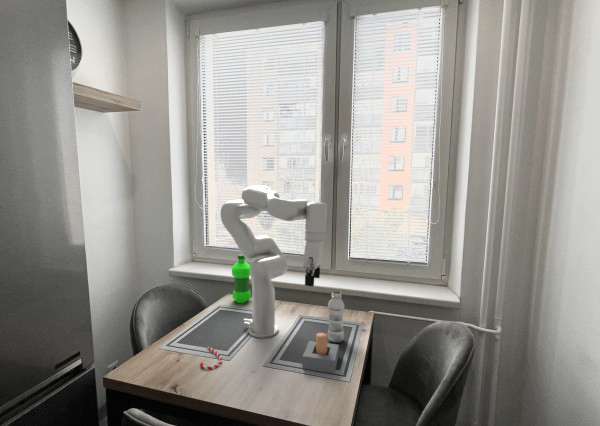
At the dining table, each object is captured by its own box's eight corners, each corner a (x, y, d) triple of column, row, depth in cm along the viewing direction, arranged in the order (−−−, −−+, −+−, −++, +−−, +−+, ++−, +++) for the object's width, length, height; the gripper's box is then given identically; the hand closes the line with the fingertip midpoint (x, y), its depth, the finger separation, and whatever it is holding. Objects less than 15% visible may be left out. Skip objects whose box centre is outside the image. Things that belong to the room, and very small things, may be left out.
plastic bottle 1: (234, 297, 177) (234, 252, 174) (253, 298, 176) (253, 253, 173) (229, 304, 167) (228, 256, 165) (249, 305, 166) (249, 257, 164)
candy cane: (217, 344, 125) (224, 364, 111) (217, 347, 125) (224, 368, 111) (196, 348, 122) (201, 369, 108) (196, 351, 122) (201, 373, 108)
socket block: (302, 368, 111) (302, 356, 110) (309, 352, 121) (309, 340, 121) (334, 373, 108) (334, 360, 108) (338, 356, 119) (338, 344, 118)
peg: (314, 364, 113) (315, 337, 112) (316, 358, 117) (317, 332, 116) (325, 366, 112) (326, 338, 111) (327, 360, 116) (328, 333, 115)
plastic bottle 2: (343, 345, 127) (344, 296, 125) (326, 343, 128) (327, 294, 126) (344, 337, 133) (345, 290, 131) (328, 336, 134) (329, 289, 132)
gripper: (310, 231, 127) (308, 273, 129) (298, 239, 110) (296, 287, 113) (329, 233, 125) (326, 275, 127) (320, 241, 108) (317, 291, 111)
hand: (312, 281), depth 120 cm, fingers open, 9 cm apart
